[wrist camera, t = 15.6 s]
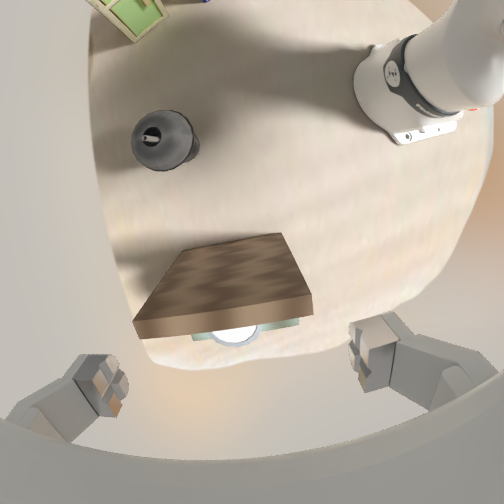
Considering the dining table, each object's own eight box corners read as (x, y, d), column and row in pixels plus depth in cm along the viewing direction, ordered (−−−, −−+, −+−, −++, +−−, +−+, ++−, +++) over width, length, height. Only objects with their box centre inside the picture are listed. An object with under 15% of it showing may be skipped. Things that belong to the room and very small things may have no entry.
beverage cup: (179, 116, 38) (126, 80, 18) (217, 139, 39) (191, 113, 20) (154, 156, 39) (85, 151, 20) (192, 179, 41) (145, 189, 21)
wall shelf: (281, 232, 43) (311, 294, 22) (291, 300, 47) (319, 392, 26) (182, 250, 44) (132, 321, 23) (200, 315, 47) (174, 408, 26)
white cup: (200, 288, 37) (191, 314, 30) (244, 264, 36) (243, 286, 30) (227, 326, 39) (224, 355, 32) (269, 304, 38) (273, 332, 31)
